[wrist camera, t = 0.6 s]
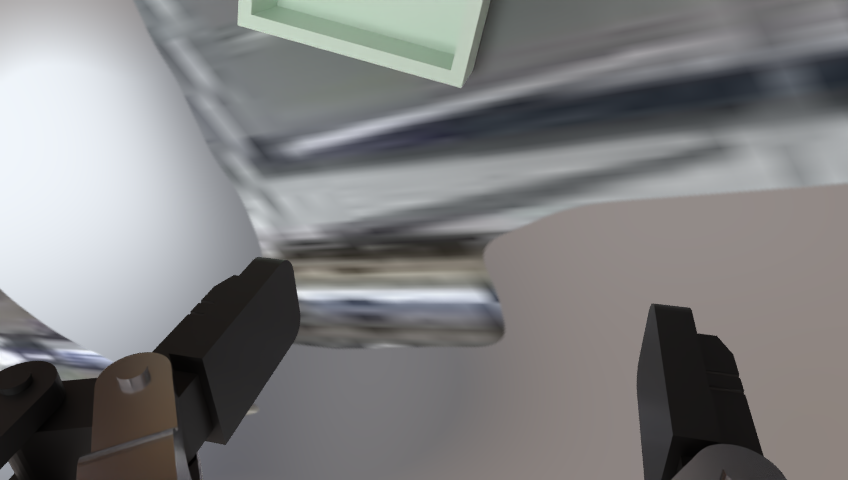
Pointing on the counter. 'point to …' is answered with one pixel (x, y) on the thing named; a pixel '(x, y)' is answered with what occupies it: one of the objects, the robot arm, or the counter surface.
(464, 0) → the green tray
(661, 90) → the counter surface
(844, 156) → the counter surface
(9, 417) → the robot arm
